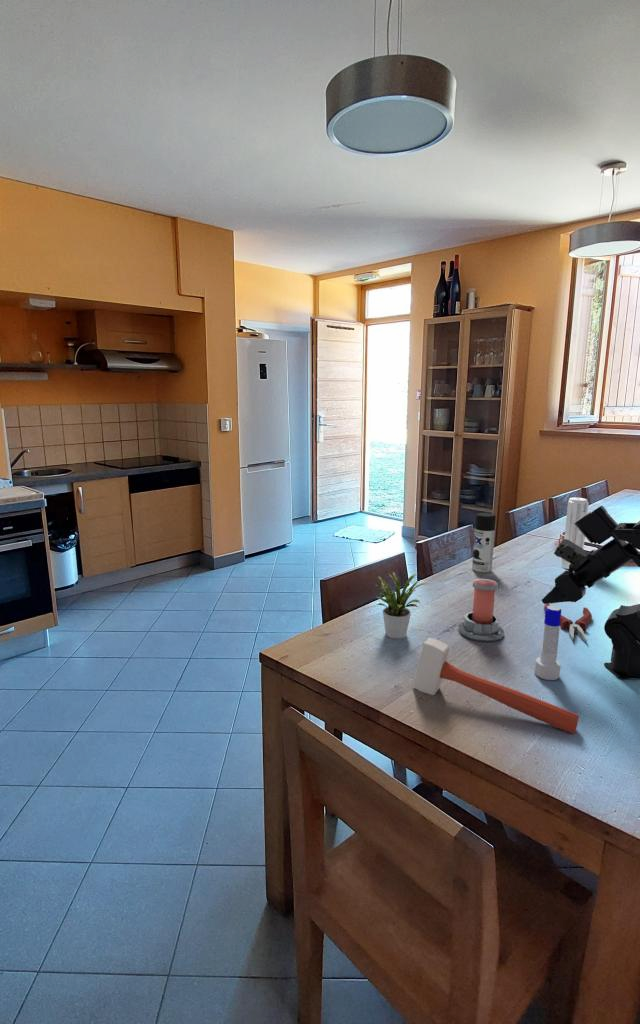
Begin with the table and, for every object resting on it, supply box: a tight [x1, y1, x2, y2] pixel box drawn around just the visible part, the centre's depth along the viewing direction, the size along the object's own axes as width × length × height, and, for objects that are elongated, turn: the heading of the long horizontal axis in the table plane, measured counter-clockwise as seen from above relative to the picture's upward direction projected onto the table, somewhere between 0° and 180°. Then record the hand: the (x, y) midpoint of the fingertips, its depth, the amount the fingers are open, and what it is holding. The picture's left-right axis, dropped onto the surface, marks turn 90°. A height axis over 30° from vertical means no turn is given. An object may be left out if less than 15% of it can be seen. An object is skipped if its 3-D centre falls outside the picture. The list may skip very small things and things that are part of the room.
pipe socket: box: [457, 610, 505, 643], centre depth 137 cm, size 11×11×4 cm
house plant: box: [376, 571, 429, 640], centre depth 135 cm, size 14×14×16 cm
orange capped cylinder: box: [472, 578, 499, 624], centre depth 136 cm, size 6×6×12 cm
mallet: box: [412, 637, 580, 735], centre depth 104 cm, size 11×4×30 cm
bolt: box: [534, 605, 562, 681], centre depth 115 cm, size 16×5×5 cm
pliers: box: [543, 604, 593, 642], centre depth 141 cm, size 12×21×3 cm, turn 164°
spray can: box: [471, 512, 496, 574], centre depth 185 cm, size 7×7×20 cm
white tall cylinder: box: [561, 497, 590, 570], centre depth 187 cm, size 6×6×25 cm
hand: (548, 596), depth 125 cm, fingers open, 9 cm apart
